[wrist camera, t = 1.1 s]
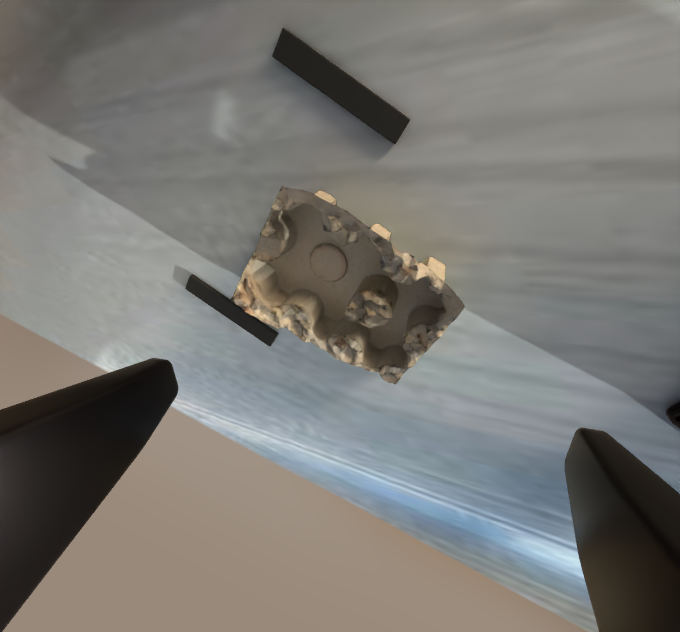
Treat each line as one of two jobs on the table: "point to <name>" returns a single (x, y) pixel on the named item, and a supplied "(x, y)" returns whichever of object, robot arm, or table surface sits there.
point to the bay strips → (344, 94)
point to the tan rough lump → (345, 286)
